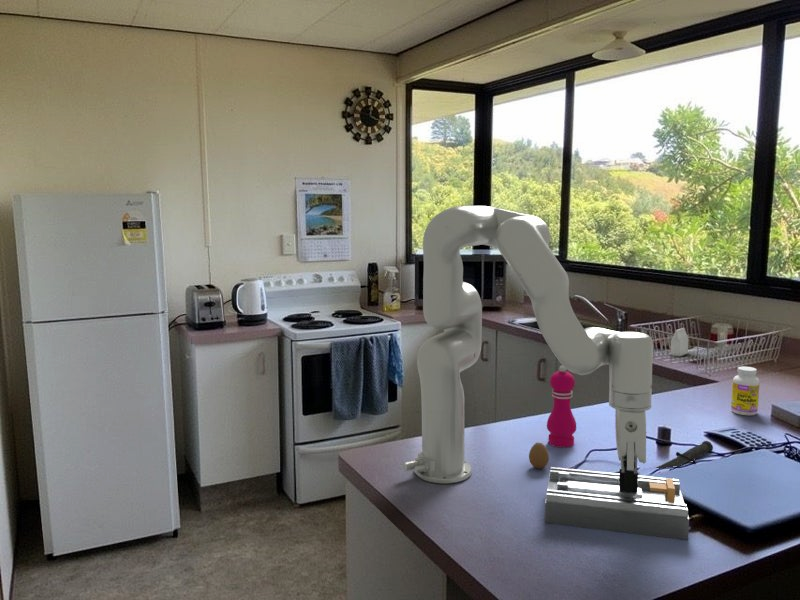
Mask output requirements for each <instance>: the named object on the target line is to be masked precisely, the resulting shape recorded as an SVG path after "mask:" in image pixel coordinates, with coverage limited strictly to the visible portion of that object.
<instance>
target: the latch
mask: <svg viewBox="0 0 800 600" xmlns="http://www.w3.org/2000/svg"><path fill="white" fill-rule="evenodd" d="M665 478H666V477H665ZM672 479H673V478H670V479H668V477H667V478H666V480H665V484H662V483H652V482H649V488H650V491H659V492H665V496H666V499H667V502H672V503H675V486H674V483H673V480H672Z"/></svg>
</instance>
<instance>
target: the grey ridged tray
mask: <svg viewBox="0 0 800 600" xmlns="http://www.w3.org/2000/svg"><path fill="white" fill-rule="evenodd" d="M619 475H620V473H617V472H608V471H607V472H606V471H595V470H588V469H587V470H585V469H577V468H576V469H575V468H566V467H565V468H564V467H553V466H550V470H549V474H548V482H547V488H546V489H547V490H546V495H545V496H546V497H545V501H544V504H545V505H544V523H545V524H546V523H547V524H551V525H560V526H568V527H576V528H577V527H579V528H587V529H595V530H601V531H611V532H616V533H617V532H619V533H626V534H627V533H628V534H635V535H644V536H649V537H659V538H668V539H675V540H677V539H678V540H685V541H688V540H689V530H690V517H689V509H688V506H687V503H685V501H684V498H683V495H682V491H681V483H680V479H678V478H668V477H667V478H668V479H672V480H673V483H674V486H675V503H672V502H667V499H666V496H665V492H659V491H650V488H649V482H652V483H662V484H665V480H666V477H658V476H648V475H647V476H646V475H639V474H638V488H641V491H642V498H632V497H623V496H613V495H603V494H594V493H584V492H575V491H568V483H562V482H561V480H562V479H564V480H566V481H574V482H584V483H594V484H604V485H614V486H619Z"/></svg>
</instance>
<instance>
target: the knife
mask: <svg viewBox="0 0 800 600" xmlns="http://www.w3.org/2000/svg"><path fill="white" fill-rule="evenodd" d="M713 450H714V446H713V444H712V443H711V441H709V440H704V441H702V442H701V443H700V444H699V445H696V446H694V447H691V448H689V449H688V450H686V451H685V452H683V453H680V452H678V451H676V453H675V456H676V457H675V458H672V459H670V460H669V461H667V462H664V463H662V464H660V465H658V466H657V467H655V468H659V469H660V468H666V467H673V466H679V465H681V464H683V465H685V464H687V463H690V462H689V461H693V462H696V463H697V460H696V458H697V459H699V458H701V457H702V456H704V455H706V454H708V453H711V452H712V451H713ZM686 462H687V463H686ZM684 463H685V464H684ZM681 466H682V465H681ZM679 467H680V466H679Z"/></svg>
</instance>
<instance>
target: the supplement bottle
mask: <svg viewBox="0 0 800 600" xmlns="http://www.w3.org/2000/svg"><path fill="white" fill-rule="evenodd" d="M757 372H758V371H757V368H755V367H752V366H745V365H744V366H738V367H737V375H735V376H734V377H733V379H732V389H731V401H730V402H731V403H730V405H731V406H730V410H731V412H732V413H734V414H737V415H741V416H749V417H750V416H755V415H757V413H758V409H759V396H760V385H761V384H760V383H761V381H760V379H759V378H758V377H756V375H757Z"/></svg>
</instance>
